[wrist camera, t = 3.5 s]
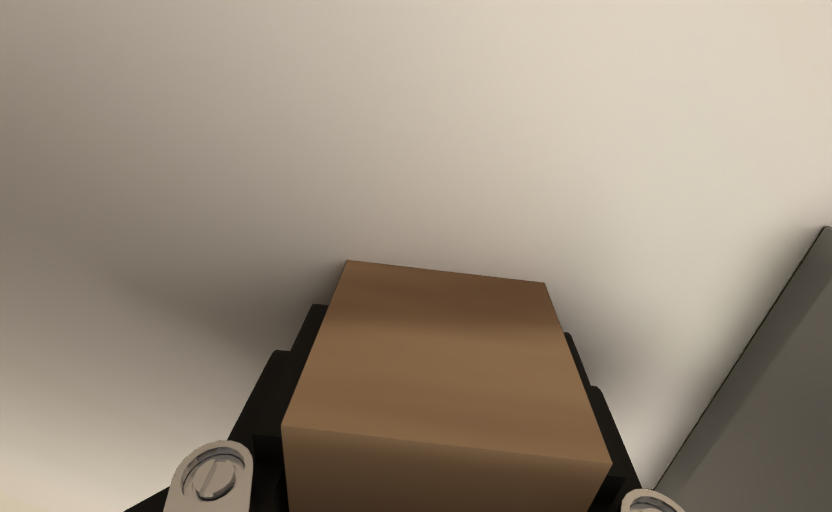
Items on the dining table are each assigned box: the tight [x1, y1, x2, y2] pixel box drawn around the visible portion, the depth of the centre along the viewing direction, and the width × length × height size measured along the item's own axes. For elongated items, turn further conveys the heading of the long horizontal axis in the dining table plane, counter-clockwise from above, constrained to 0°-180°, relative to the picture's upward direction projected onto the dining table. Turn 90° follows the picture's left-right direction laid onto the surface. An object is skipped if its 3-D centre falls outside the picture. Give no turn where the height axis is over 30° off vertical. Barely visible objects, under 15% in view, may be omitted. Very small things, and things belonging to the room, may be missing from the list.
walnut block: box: [281, 260, 613, 512], centre depth 10 cm, size 5×5×5 cm
